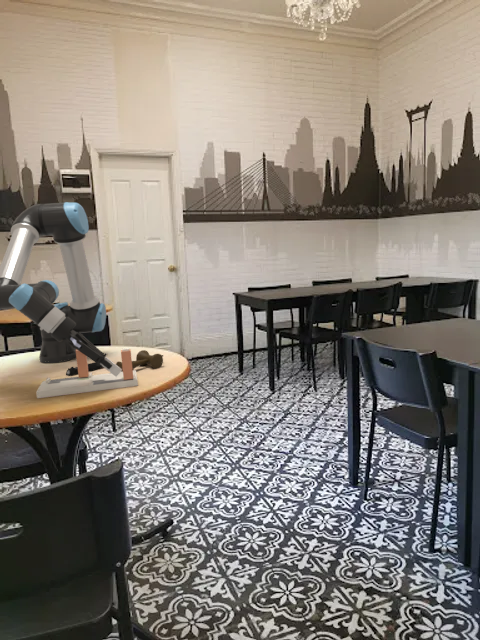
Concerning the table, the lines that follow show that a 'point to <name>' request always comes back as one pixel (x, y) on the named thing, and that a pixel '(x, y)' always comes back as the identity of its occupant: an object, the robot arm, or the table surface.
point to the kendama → (145, 360)
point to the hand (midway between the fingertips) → (119, 373)
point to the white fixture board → (84, 384)
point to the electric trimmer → (73, 370)
